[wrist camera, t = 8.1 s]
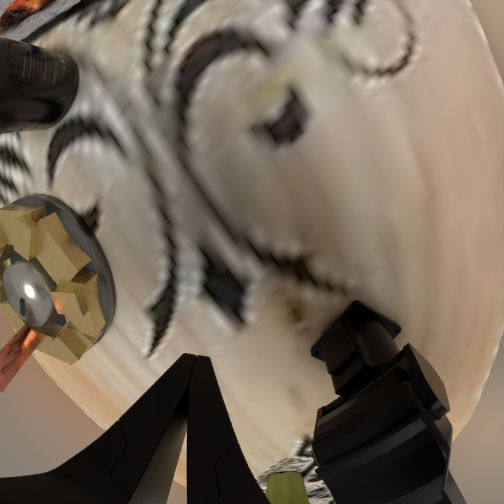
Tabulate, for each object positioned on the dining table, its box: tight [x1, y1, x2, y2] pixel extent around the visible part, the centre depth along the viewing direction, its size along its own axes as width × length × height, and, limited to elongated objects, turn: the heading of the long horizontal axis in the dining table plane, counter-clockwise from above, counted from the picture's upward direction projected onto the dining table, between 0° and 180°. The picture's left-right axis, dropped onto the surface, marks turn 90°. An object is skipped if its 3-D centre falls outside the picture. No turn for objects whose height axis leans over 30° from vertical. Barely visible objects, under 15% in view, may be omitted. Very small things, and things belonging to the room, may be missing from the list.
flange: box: [3, 194, 115, 344], centre depth 19 cm, size 16×16×5 cm
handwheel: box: [0, 203, 106, 392], centre depth 15 cm, size 15×15×10 cm
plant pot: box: [266, 472, 310, 504], centre depth 32 cm, size 9×9×9 cm
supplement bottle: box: [0, 38, 77, 134], centre depth 9 cm, size 7×7×12 cm
